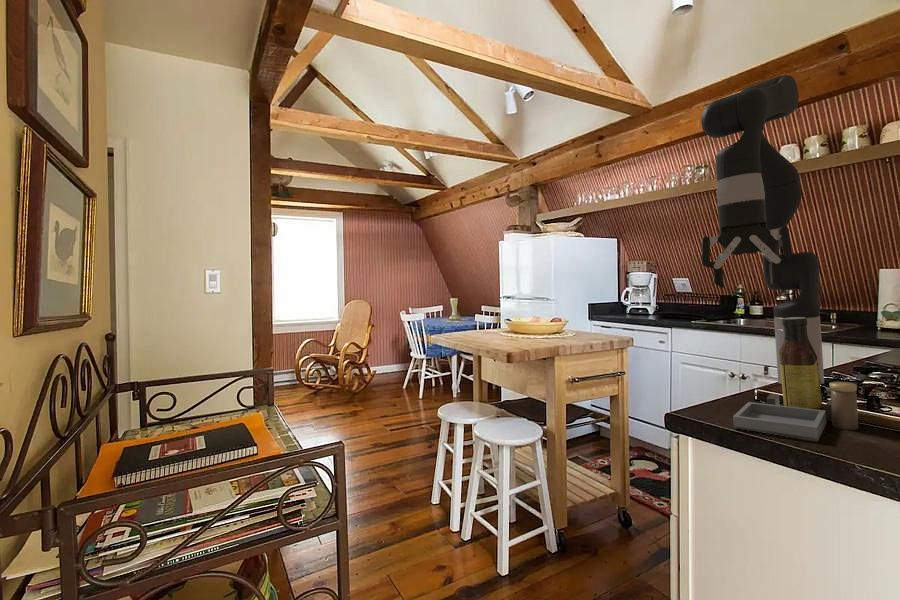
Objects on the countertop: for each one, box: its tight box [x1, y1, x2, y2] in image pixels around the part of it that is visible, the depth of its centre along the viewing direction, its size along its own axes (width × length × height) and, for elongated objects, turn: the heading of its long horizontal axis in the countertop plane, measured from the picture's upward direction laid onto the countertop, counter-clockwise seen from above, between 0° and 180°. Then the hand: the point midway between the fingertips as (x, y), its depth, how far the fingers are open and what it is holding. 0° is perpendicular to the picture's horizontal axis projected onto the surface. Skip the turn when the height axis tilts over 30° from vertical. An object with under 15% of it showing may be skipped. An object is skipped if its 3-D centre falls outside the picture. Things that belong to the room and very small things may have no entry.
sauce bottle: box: [779, 317, 823, 410], centre depth 90 cm, size 7×6×20 cm
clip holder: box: [765, 393, 832, 422], centre depth 91 cm, size 5×13×3 cm, turn 44°
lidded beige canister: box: [828, 381, 859, 431], centre depth 82 cm, size 4×4×8 cm
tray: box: [732, 401, 828, 443], centre depth 85 cm, size 12×13×2 cm
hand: (746, 285), depth 85 cm, fingers open, 8 cm apart
